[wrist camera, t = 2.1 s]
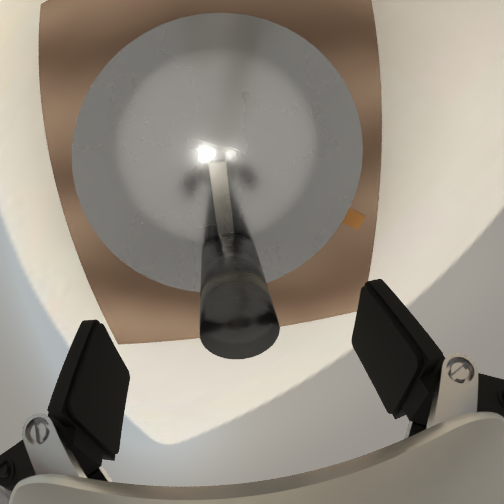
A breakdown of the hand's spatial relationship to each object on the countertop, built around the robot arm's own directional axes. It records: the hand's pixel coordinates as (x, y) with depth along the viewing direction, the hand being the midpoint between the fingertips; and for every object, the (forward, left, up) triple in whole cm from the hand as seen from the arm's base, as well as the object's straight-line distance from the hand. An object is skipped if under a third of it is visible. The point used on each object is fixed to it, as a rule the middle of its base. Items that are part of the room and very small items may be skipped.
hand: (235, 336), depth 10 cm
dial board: (-5, 0, -8) cm, 10 cm away
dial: (-5, 0, -6) cm, 8 cm away
